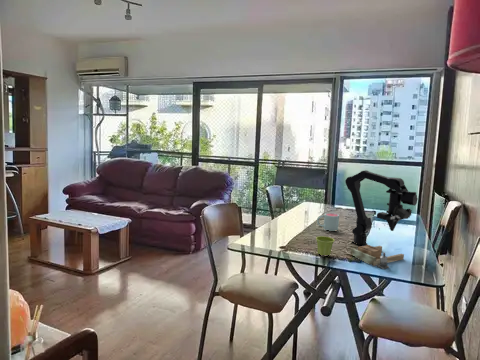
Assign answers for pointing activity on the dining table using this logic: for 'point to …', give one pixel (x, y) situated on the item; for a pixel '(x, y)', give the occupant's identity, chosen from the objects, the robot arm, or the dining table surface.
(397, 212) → the robot arm
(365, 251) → the crate
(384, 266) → the winch drum
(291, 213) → the dining table surface
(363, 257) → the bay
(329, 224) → the mug
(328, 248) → the plant pot
